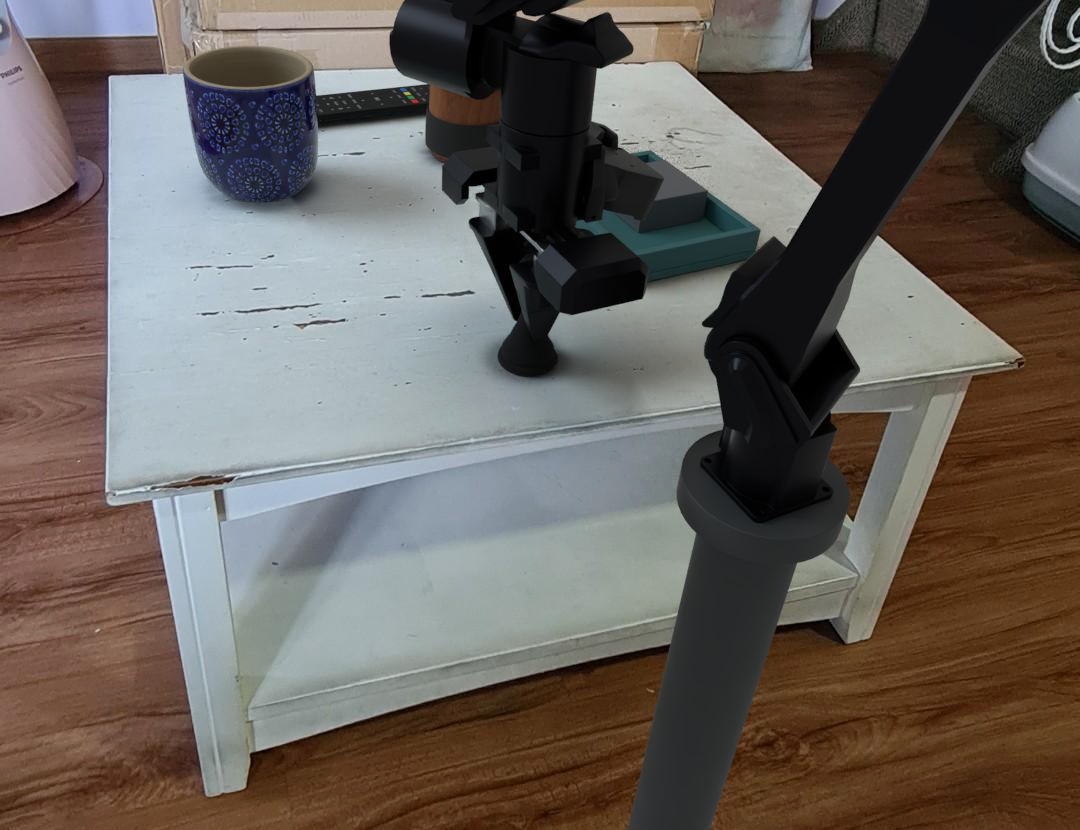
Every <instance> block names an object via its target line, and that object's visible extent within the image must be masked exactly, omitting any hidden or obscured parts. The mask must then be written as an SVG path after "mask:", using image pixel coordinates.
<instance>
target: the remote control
mask: <svg viewBox="0 0 1080 830" xmlns="http://www.w3.org/2000/svg"><path fill="white" fill-rule="evenodd" d="M316 98H317V115H318V123H322V122H332V121H341V120H348V119H357V118H366V117H367V118H368V117H375V116H383V115H392V114H402V113H409V112H418V111H419V112H420V111H427V105H428V103H429V99H430V84H427V83H424V84H416V85H404V86H396V87H387V88H386V87H385V88H377V89H368V90H366V89H365V90H359V91H358V90H357V91H350V92H349V91H348V92H347V91H346V92H337V93H327V94H316Z"/></svg>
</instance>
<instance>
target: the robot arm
mask: <svg viewBox="0 0 1080 830" xmlns="http://www.w3.org/2000/svg"><path fill="white" fill-rule="evenodd" d="M584 1H586V0H403V1H402V3H401V5H400V7H399V9H398V11H397V12H396V17H395V19H394V22H393V28H392V30H391V31H390V32H389V36H388V37H389V38H388V40H389V41H388V42H389V43H388V45H389V52H390V57H391V60H392V64H393V65H394V67H395V68H396V71H398V73H399V74H401V75H402V76H403V77H406V78H409V79H412V80H415V81H418V82H420V83H424V84H430V85H433V86H436V87H439V88H442V89H445V90H448V91H451V92H454V93H457V94H460V95H463V96H466V97H469V98H472V99H475V100H483V99H486V98H488V97H489V96H490V95H492V94H493V93H494V92H495V91H496V90H497V88H500V87H501V100H500V121H499V124H496V125H488V126H487V135H486V141H487V142H488V143H489V144H490V145H492V146H493V147H487V148H480V149H473V150H466V151H460V152H454V153H453V154H452V155H451V156H450V158H449V159H448V160H447V161H446V162H445V163H444V162H443V165H441V191H442V192H443V193H444V194H445V195H446V196H447V197H448V198H449V199H450V201H452V202H453V203H454V204H455V205H456V206H459V205H465V203H467V201H468V200H469V198H470V187H471V188H473V187H480V186H482V187H483V188H484V189H483V190H484V191H480V192H476V193H475V196H474V198H475V200H476V201H477V202H478V203H479V209H478V216H474V217H471V218H469V219H468V226H469V229H470V230H471V231H472V232H473V234H474V236H475V239H476V240H477V243H478V245H479V247H480V249H481V252H482V253H483V256H484V257H485V260H486V262H487V264H488V266H489V268H490V270H491V271H490V272H491V273H492V275H493V277H494V280H495V281H496V284H497V287H498V288H499V290H500V293H501V295H502V297H503V300H504V302H505V304H506V307H507V309H508V311H509V313H510V316H511V318H512V319H513V321H514V322H517V321H518V319H519V317H520V314H521V309H522V313H523V316H524V320H525V323H526V326H527V329H528V332H529V335H530V338H531V340H532V341H534V342H536V341H540V340H544V339H546V338H547V336H549V334H550V332H551V331H552V329H553V326H554V325H555V323H556V321H557V320H558V317H559V315H560V314H564V315H568V316H574V315H579V314H584V313H588V312H593V311H597V310H600V309H605V308H610V307H615V306H619V305H624V304H627V303H631V302H635V301H640V300H643V299H644V297H645V295H646V290H647V285H648V282H647V279H648V273H649V267H648V266H647V265H646V264H645V263H644V262H643V261H642V260H641V259H640V258H639V257H638V256H637V255H636V254H635V253H634V252H633V251H631V250H630V249H629V248H628V247H627V246H626V245H625V244H623V243H622V242H621V241H620V240H619V239H618V238H616V237H615V236H614V235H613V234H612V233H611V232H610V233H605V234H599V235H595V234H593V233H592V232H591V231H590V230H587V229H582V228H576V227H575V226H576V222H577V221H579V220H584V221H585V222H586V223H589V222H594V221H600V220H602V216H603V209H604V210H607V211H611V212H615V213H620V214H625V215H629V216H633V218H634V219H635V220H639V221H645V220H646V218H647V216H648V213H649V211H650V209H651V207H652V205H653V203H654V200H655V198H656V196H657V194H658V192H659V189H660V187H661V185H662V183H663V181H664V177H663V176H662V175H661V174H659V173H658V172H657V171H655V170H654V169H653V168H651V167H650V166H649V165H647V164H646V163H645V162H643V161H642V160H640V159H639V158H638V157H636V156H634V155H632V154H630V152H628V151H627V150H626V149H624V148H623V147H620V146H619V135H618V133H616V132H615V131H614V130H612V129H611V128H610V127H608V126H607V125H605V124H603V123H599V122H595V121H592V119H593V110H594V100H595V92H596V81H597V71H598V69H600V70H601V69H604V68H606V67H609V66H610V65H613V64H615V63H618V61H621V60H623V59H626V58H627V57H630V56H631V55H632V54H633V53H634V44H633V43H632V42H631V41H630V39H629V38H628V37H627V35H626V34H625V33H624V32H623V31H622V30H621V29H619V27H618V26H617V24H616V23H615V21H614V18H613V15H612V14H611V13H610V12H608V11H605V12H602V13H600V14H598V15H597V14H596V15H595V16H593V17H590V18H587V20H586V21H585V20H581V19H577V18H573V17H570V16H566V15H562V14H559V13H555V12H558V11H560V10H563V9H566V8H568V7H571V6H574V5H576V4H579V3H581V2H584ZM1049 1H1050V0H926V4H925V7H924V11H923V14H922V17H921V20H920V22H919V24H918V26H917V28H916V30H915V32H914V33H913V35H912V37H911V38H910V40H909V41H908V43H907V45H906V46H905V48H904V50H903V51H902V53H901V55H900V56H899V59H898V60H897V61H896V63H895V65H894V67H893V68H892V69H891V72H890V73H889V74H888V77H886V79H885V81H884V83H883V85H882V87H881V88H880V90H879V91H878V93H877V95H876V96H875V99H874V100H873V102H872V103H871V105H870V106H869V108H868V110H867V112H866V114H865V115H864V117H863V119H862V120H861V122H860V123H859V125H858V127H857V129H856V130H855V132H854V134H853V135H852V136H851V138H850V140H849V141H848V143H847V145H846V147H845V148H844V150H843V152H842V153H841V155H840V157H839V158H838V160H837V161H836V164H835V165H834V166H833V168H832V170H831V172H830V173H829V175H828V176H827V178H826V180H825V181H824V184H823V185H822V187H821V188H820V190H819V192H818V194H817V195H816V197H815V198H814V200H813V202H812V204H811V205H810V207H809V209H808V210H807V212H806V214H805V216H804V217H803V219H802V220H801V221H800V224H799V225H798V227H797V228H796V230H795V232H794V233H793V235H792V237H791V239H790V241H789V242H788V244H787V245H785V244H784V243H782V241H780V240H779V239H778V238H777V237H776V236H774V235H773V236H771V237H770V238H769V239H768V240H767V241H766V242H765V243H763V244H762V245H761V246H760V247H759V248H758V249H756V252H755V253H754V254H752V255H751V256H750V257H749V258H748V259H746V260H744V261H743V262H742V263H741V264H739V266H738V267H737V268H735V269H734V270H733V271H732V272H731V274H730V276H729V278H728V280H727V282H726V284H725V287H724V289H723V292H722V296H721V298H720V302H719V305H718V307H717V308H716V309H714V310H713V311H712V312H711V313H710V314H709V315H708V316H707V317H706V318H705V319H703V321H702V322H701V326H702V327H703V328H707V329H708V328H709V329H711V330H710V331H709V332H708V333H707V336H706V339H705V341H704V345H703V357H704V359H705V360H707V363H708V366H709V369H710V372H711V373H712V374H713V376H714V377H715V381H716V387H717V393H718V399H719V404H720V411H721V418H722V423H723V424H722V428H721V430H722V433H721V437H720V442H719V448H720V449H721V450H720V451H719V452H716V453H713V454H710V455H706V456H703V457H702V458H701V461H700V466H701V468H702V469H703V470H704V471H705V472H706V473H707V474H708V475H709V476H710V477H711V478H712V479H713V480H714V481H715V482H716V483H717V484H718V485H719V487H720V488H721V489H722V490H723V491H724V492H725V493H726V494H727V495H728V496H729V497H730V498H731V499H732V500H733V501H734V502H735V503H736V504H737V505H738V506H739V508H740V509H741V510H742V511H743V512H744V513H745V514H746V515H747V516H748V517H749V518H750V519H751V520H752V521H753V522H755V523H764V522H767V521H770V520H772V519H775V518H778V517H781V516H783V515H786V514H789V513H792V512H795V511H797V510H800V509H803V508H806V507H808V506H811V505H814V504H817V503H819V502H822V501H825V500H828V499H830V498H831V497H832V495H833V492H834V490H833V488H832V487H831V486H830V485H829V484H828V483H826V482H825V481H824V480H823V479H822V475H823V472H824V469H825V466H826V463H827V460H828V458H829V456H830V454H831V450H832V447H833V444H834V441H835V438H836V435H837V431H838V427H837V426H836V425H835V424H833V422H832V409H833V408H834V407H835V406H836V404H837V403H838V401H840V399H841V398H842V396H843V395H844V394H845V393H846V391H847V390H848V388H849V387H850V386H851V384H852V383H853V382H854V381H855V379H856V378H857V377H858V375H859V374H860V372H861V367H860V366H859V364H858V362H857V361H856V359H855V357H854V356H853V354H852V352H851V350H850V349H849V347H848V345H847V344H846V342H845V340H844V339H843V337H842V334H840V331H839V330H838V329H837V327H838V325H839V323H840V321H841V318H842V316H843V314H844V312H845V309H846V306H847V304H848V302H849V299H850V296H851V292H852V287H853V283H854V280H855V276H856V272H857V269H858V268H859V265H860V263H861V261H862V260H863V258H864V257H865V255H866V253H867V252H868V250H869V249H870V248H871V246H872V244H873V243H874V242H875V240H876V239H877V237H878V236H879V235H880V233H881V231H882V230H883V229H884V227H885V225H886V224H887V223H888V221H889V220H890V218H891V217H892V215H893V213H894V212H895V211H896V209H897V208H898V206H899V204H900V203H901V202H902V200H903V198H904V197H905V196H906V194H907V193H908V191H909V190H910V188H911V187H912V185H913V184H914V182H915V181H916V180H917V178H918V176H919V175H920V173H921V172H922V171H923V170H924V168H925V166H926V165H927V163H928V162H929V160H930V159H931V157H932V156H933V154H934V153H935V151H936V150H937V148H938V147H939V145H940V144H941V142H942V141H943V140H944V138H945V136H946V135H947V133H948V132H949V131H950V129H951V128H952V126H953V125H954V123H955V122H956V120H957V119H958V117H959V116H960V115H961V113H962V111H963V110H964V108H965V107H966V105H967V104H968V102H969V100H970V99H971V98H972V96H973V95H974V93H975V92H976V91H977V89H978V87H979V86H980V84H981V83H982V82H983V80H984V79H985V77H986V76H987V75H988V73H989V71H990V70H991V69H992V67H993V65H994V64H995V62H996V61H997V59H998V58H999V57H1000V55H1001V54H1002V52H1003V51H1004V49H1005V48H1006V47H1007V45H1008V44H1009V43H1010V42H1011V41H1012V40H1013V39H1014V38H1015V37H1016V36H1017V35H1018V33H1020V32H1021V30H1022V29H1023V28H1024V27H1025V26H1026V25H1028V23H1029V22H1030V21H1031V20H1032V19H1033V18H1034V17H1035V16H1036V15H1037V14H1038V13H1039V12H1040V11H1041V10H1042V8H1044V6H1046V4H1047V3H1048V2H1049ZM518 12H519V13H520V12H521V13H522V14H523V15H524V16H528V17H534V18H535V17H539V18H538V19H536V20H533V19H529V18H526V17H522V16H518ZM526 241H529V242H530V243H531V244H532V245H533V246H534V247H535V248H536V249H537V250H538V253H534V260H530V261H525V262H520V260H521V259H522V258H523V257H524V256H525V255H527V254H530V253H532V252H531V249H530V248H527V247H525V246H524V242H526ZM519 262H520V263H519ZM757 515H759V516H757Z"/></svg>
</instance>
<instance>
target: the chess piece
mask: <svg viewBox="0 0 1080 830" xmlns="http://www.w3.org/2000/svg"><path fill="white" fill-rule="evenodd" d="M524 246H525V247H527V248H530V249H531V252H532V253H530V254H527V255H525V256H524V257H523V258H522V259H521V260H520V262H525V261H530V260H534V253H538V250H537V249H536V248H535V247H534V246H533V245H532V244H531V243H530V242H529V241H526V242H524ZM520 262H519V263H520ZM558 358H559V357H558V353H557V350H556V348H555V345H554V343H553V341H552V339H551V338H550V336H549V335H548V336H547V338H546V339H544V340H540V341H536V342H534V341H532V340H531V338H530V335H529V332H528V329H527V326H526V323H525V320H524V316H523V313H522V309H521V314H520V317H519V319H518V321H515V324H514V326H513V327H512V329H511V331H510V332H509V334H508V335H507V336H506V337H505V338H504V340H503V342H502V344H501V346H500V347H499V349H498V351H497V362H498V363H499V365H500V366H501V367H502V368H503V369H504V370H506V371H507V372H509V373H511V374H513V375H517V376H523V377H537V376H542V375H546V374H548V373H550V372H552V370H554V369H555V368H556V366H557V364H558V360H559V359H558Z"/></svg>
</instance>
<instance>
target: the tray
mask: <svg viewBox="0 0 1080 830" xmlns="http://www.w3.org/2000/svg"><path fill="white" fill-rule="evenodd" d="M629 153H630V152H629ZM630 154H632V155H634V156H636V157H638V158H639V159H640V160H642V161H643V162H645V163H650V162H656V161H662V160H664V158H662V156H659V155H658V154H657V153H655V152H654V151H653V150H651V149H649V150H643V151H637V152H631V153H630ZM575 227H576V228H582V229H587V230H590V231H591V232H592V233H593V234H595V235H599V234H605V233H610V232H611V233H612V234H613V235H614V236H615V237H616V238H618V239H619V240H620V241H621V242H622V243H623V244H625V245H626V246H627V247H628V248H629V249H630V250H631V251H633V252H634V253H635V254H636V255H637V256H638V257H639V258H640V259H641V260H642V261H643V262H644V263H645V264H646V265H647V266H648V267H649V273H648V279H647V283H649V282H651V281H652V282H653V281H656V280H660V279H665V278H666V279H667V278H670V277H674V276H679V275H683V274H687V273H693V272H697V271H701V270H705V269H710V268H714V267H718V266H723V265H728V264H732V263H737V262H741V261H746V260H747V259H748V258H749V257H750V256H751V255H752V254H754V253H755V252H756V251H757V250H758V249H757V248H758V243H759V239H760V235H761V228H759V227H758V226H757V225H755V224H753V222H751V221H749V220H748V219H747V218H746V217H744V216H743V215H741V214H740V213H738V212H737V211H736V210H734V209H733V208H732V207H730V206H729V205H727V204H726V203H725V202H723V201H722V200H721V199H719V198H718V197H716V196H715V195H713V194H712V193H711V192H709V191H708V195H707V200H706V205H705V211H704V216H703V220H702V221H698V222H693V223H688V224H683V225H678V226H673V227H668V228H662V229H657V230H652V231H647V232H642V233H638V232H637V231H635V230H634V229H633V228H632V227H631V226H629V225H628V224H627V223H626V222H625V221H623V220H622V219H621V218H620V217H619V216H617V215H616V214H615V213H614V212H611V211H607V210H604V209H603V216H602V220H600V221H594V222H589V223H586V222H585V221H584V220H579V221H577V222H576V226H575Z"/></svg>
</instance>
